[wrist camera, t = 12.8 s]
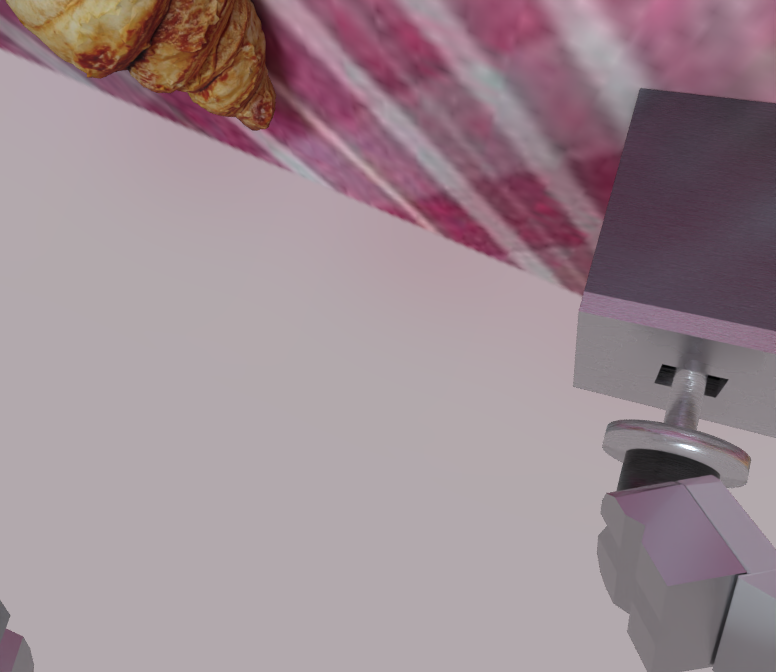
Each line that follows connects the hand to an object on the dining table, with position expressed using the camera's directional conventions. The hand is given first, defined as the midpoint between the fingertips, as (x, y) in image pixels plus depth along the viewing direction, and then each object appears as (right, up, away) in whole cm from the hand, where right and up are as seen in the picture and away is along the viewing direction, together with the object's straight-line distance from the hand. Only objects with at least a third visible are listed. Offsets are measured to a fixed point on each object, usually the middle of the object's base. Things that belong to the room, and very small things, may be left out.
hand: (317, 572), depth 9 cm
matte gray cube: (+18, +10, +20) cm, 29 cm away
